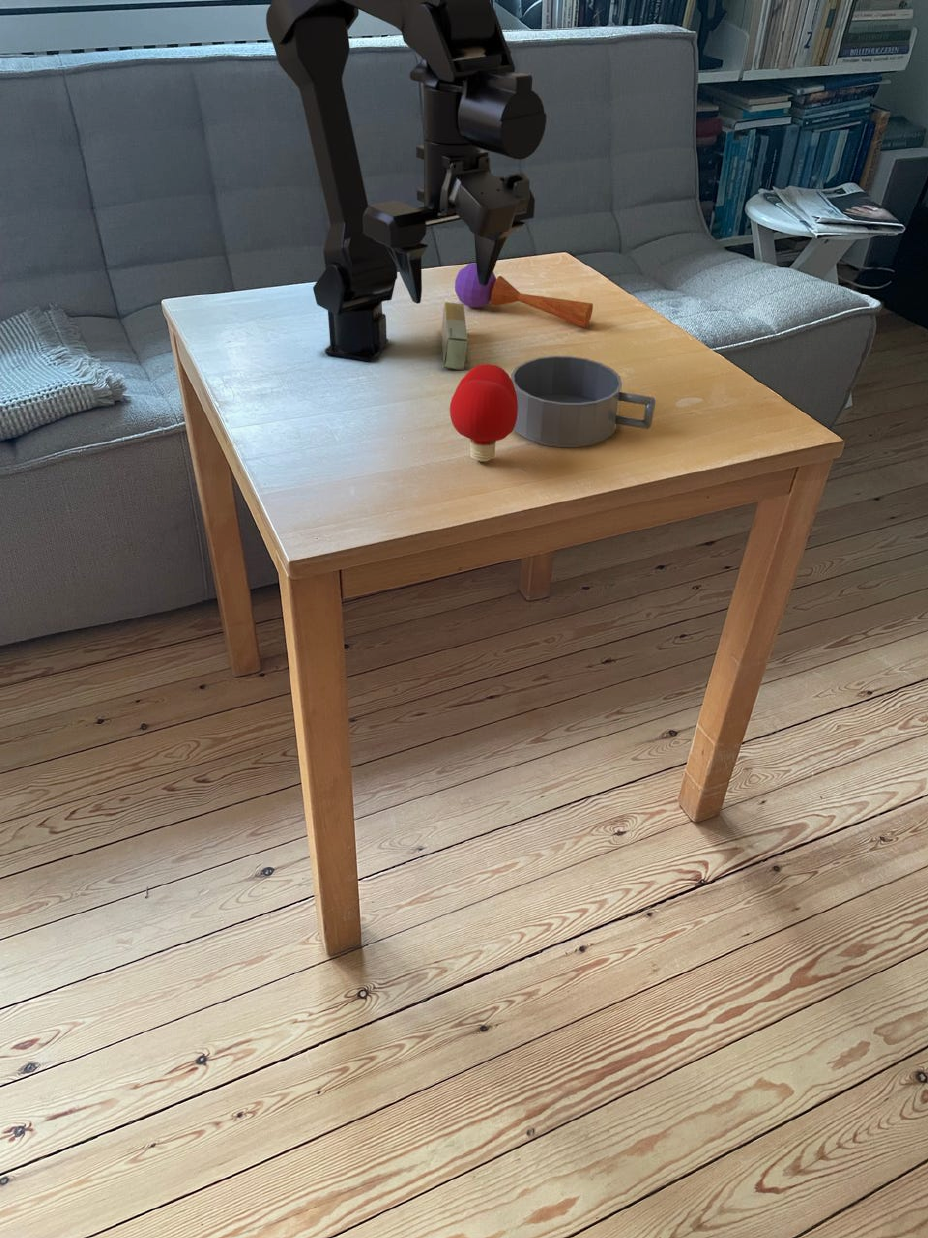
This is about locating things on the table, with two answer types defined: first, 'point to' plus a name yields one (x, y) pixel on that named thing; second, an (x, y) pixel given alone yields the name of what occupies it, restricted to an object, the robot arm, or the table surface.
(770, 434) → the table surface
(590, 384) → the measuring cup
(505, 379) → the light bulb
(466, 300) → the maraca
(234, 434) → the table surface
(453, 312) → the medication box
